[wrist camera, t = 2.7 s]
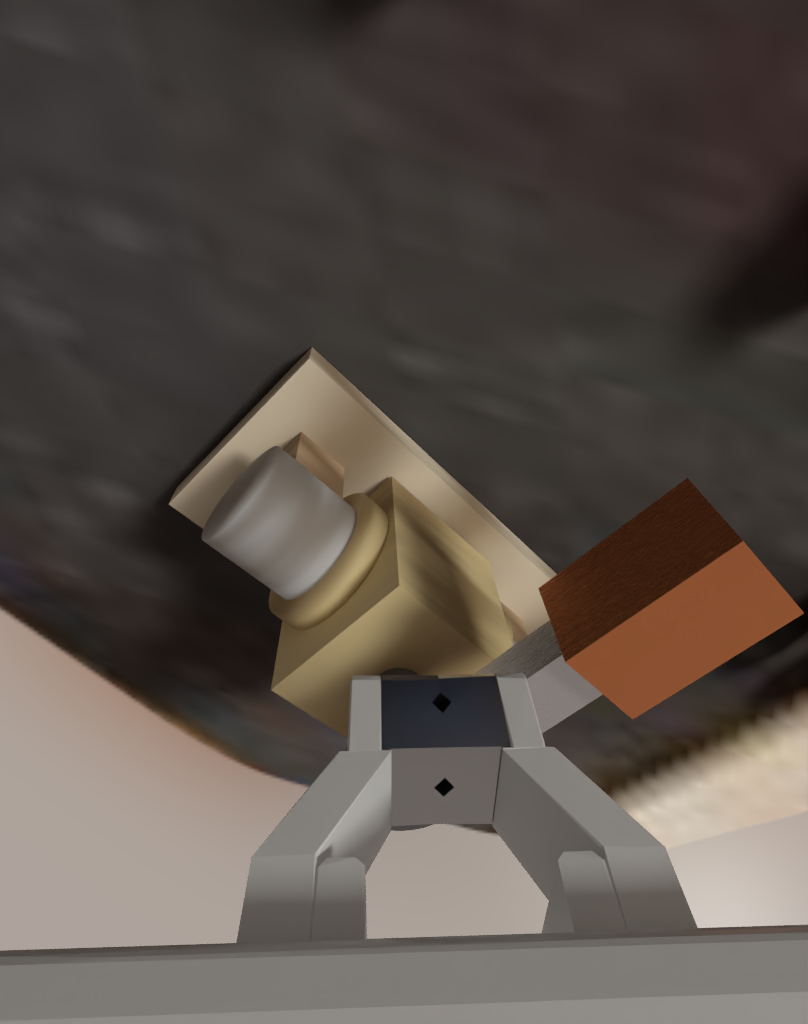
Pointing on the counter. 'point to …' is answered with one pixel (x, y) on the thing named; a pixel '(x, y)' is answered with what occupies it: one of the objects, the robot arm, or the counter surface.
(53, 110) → the counter surface
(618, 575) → the valve lever
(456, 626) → the valve fixture
